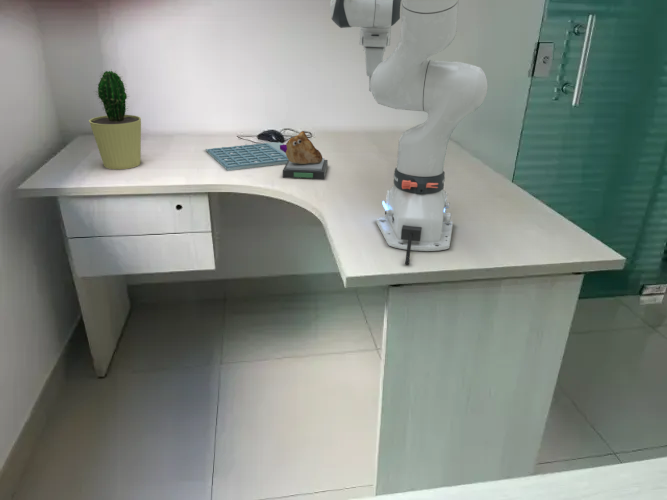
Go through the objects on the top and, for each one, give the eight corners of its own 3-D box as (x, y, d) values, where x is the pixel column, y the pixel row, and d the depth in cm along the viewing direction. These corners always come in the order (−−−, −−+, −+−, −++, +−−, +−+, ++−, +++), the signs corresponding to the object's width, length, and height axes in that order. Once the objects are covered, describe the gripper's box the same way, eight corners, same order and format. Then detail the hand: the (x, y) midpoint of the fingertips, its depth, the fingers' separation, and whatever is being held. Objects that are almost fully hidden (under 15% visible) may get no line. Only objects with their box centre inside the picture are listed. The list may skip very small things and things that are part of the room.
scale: (324, 179, 163) (324, 169, 161) (282, 178, 163) (282, 168, 162) (327, 166, 176) (327, 157, 174) (289, 165, 176) (289, 155, 175)
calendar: (205, 150, 191) (204, 144, 190) (278, 143, 203) (278, 136, 202) (227, 171, 169) (226, 163, 168) (307, 161, 181) (307, 154, 180)
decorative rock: (289, 168, 162) (289, 133, 157) (282, 163, 167) (281, 129, 162) (324, 164, 167) (325, 130, 162) (316, 159, 172) (316, 126, 167)
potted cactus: (94, 161, 175) (78, 66, 163) (142, 156, 182) (130, 65, 169) (99, 173, 163) (81, 72, 150) (150, 168, 170) (137, 71, 157)
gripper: (364, 36, 158) (362, 83, 164) (363, 40, 139) (360, 93, 145) (385, 36, 157) (382, 84, 163) (386, 41, 139) (383, 94, 145)
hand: (372, 88), depth 154 cm, fingers open, 8 cm apart
